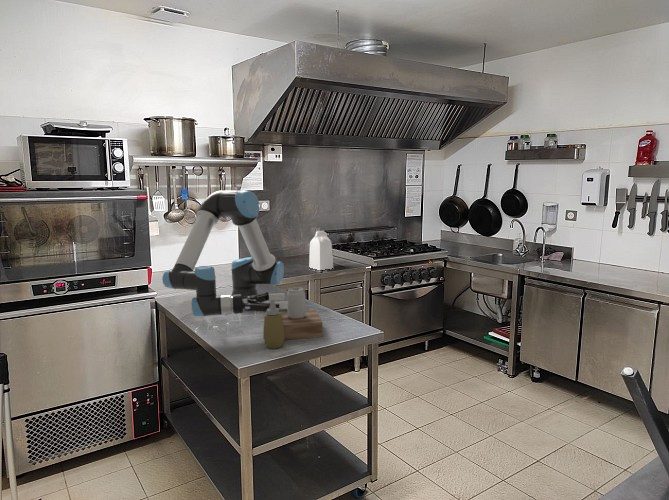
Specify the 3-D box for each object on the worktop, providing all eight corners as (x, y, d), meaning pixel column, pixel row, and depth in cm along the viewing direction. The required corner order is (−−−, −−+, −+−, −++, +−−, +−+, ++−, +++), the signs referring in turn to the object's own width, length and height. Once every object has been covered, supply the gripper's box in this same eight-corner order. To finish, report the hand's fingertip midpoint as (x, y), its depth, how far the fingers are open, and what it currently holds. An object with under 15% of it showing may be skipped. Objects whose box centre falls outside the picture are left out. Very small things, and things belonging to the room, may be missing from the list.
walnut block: (274, 326, 203) (273, 312, 203) (316, 323, 207) (315, 309, 206) (277, 340, 186) (276, 325, 185) (322, 336, 189) (322, 322, 188)
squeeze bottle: (273, 351, 174) (271, 303, 171) (259, 346, 179) (256, 300, 177) (289, 345, 180) (287, 299, 177) (275, 341, 185) (273, 296, 183)
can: (306, 314, 199) (305, 286, 197) (305, 319, 192) (304, 290, 190) (288, 314, 199) (287, 286, 197) (287, 320, 192) (285, 291, 190)
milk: (322, 266, 334) (321, 229, 330) (333, 268, 326) (332, 230, 322) (309, 269, 326) (307, 231, 322) (320, 271, 318) (319, 232, 314)
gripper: (233, 305, 202) (283, 301, 206) (232, 322, 178) (289, 318, 182) (232, 288, 201) (283, 284, 205) (231, 303, 177) (288, 299, 180)
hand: (286, 300), depth 193 cm, fingers open, 13 cm apart
